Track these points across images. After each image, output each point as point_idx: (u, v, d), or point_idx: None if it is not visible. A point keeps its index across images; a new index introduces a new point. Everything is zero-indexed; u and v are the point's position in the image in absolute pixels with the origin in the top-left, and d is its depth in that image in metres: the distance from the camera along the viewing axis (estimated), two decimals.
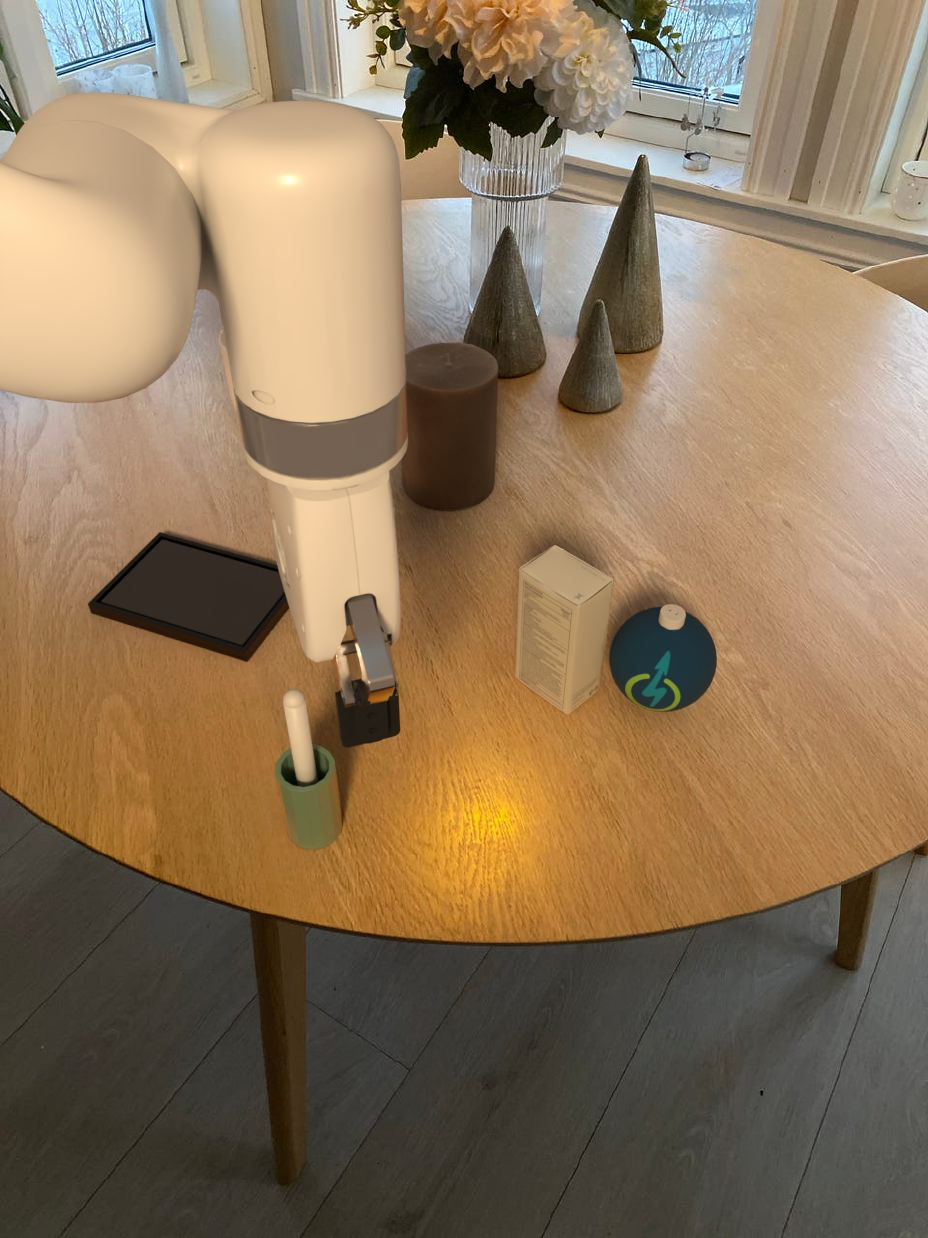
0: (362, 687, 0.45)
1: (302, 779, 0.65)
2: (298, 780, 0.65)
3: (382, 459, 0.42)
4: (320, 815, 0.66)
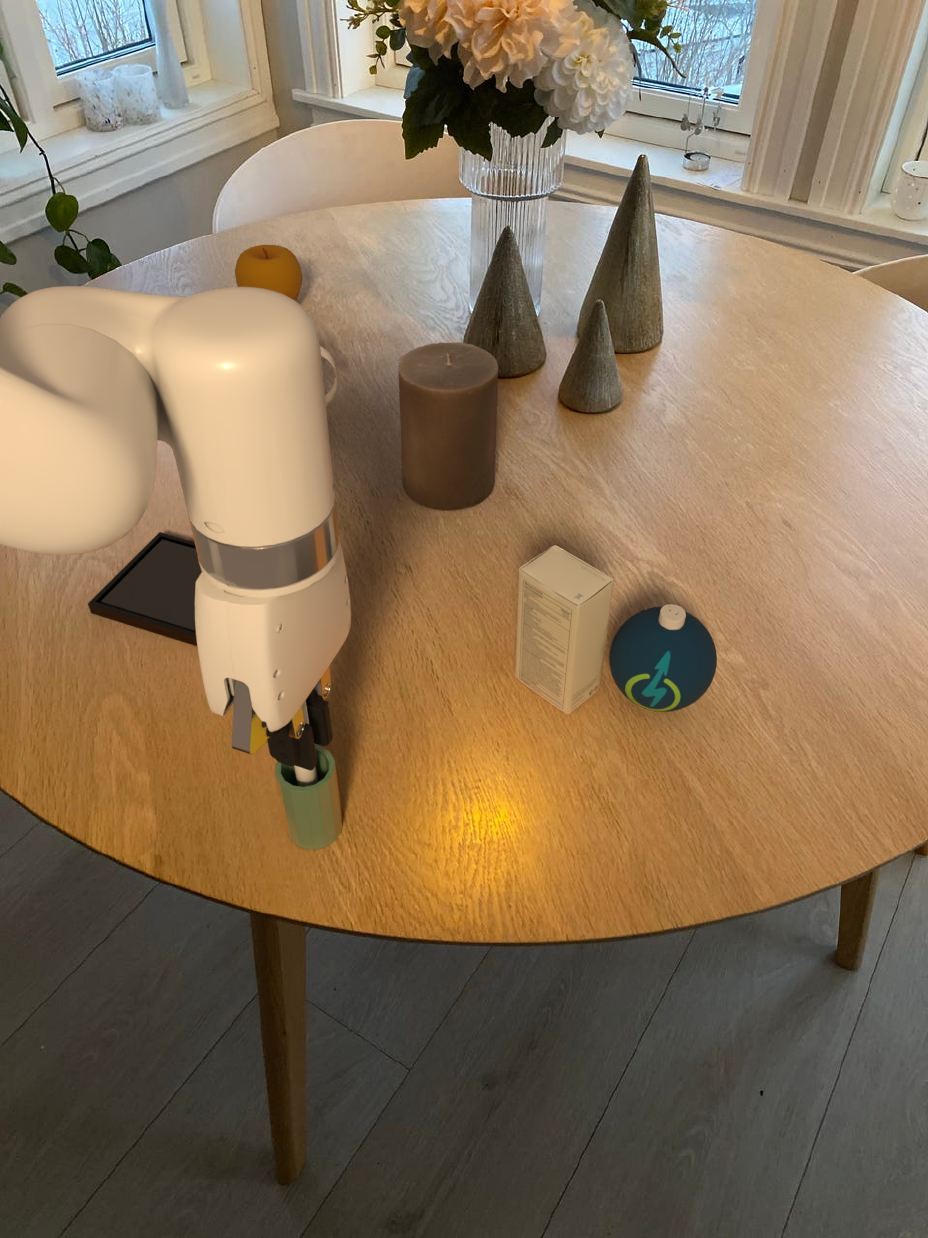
0: None
1: (302, 779, 0.65)
2: (298, 780, 0.65)
3: (267, 585, 0.48)
4: (320, 815, 0.66)
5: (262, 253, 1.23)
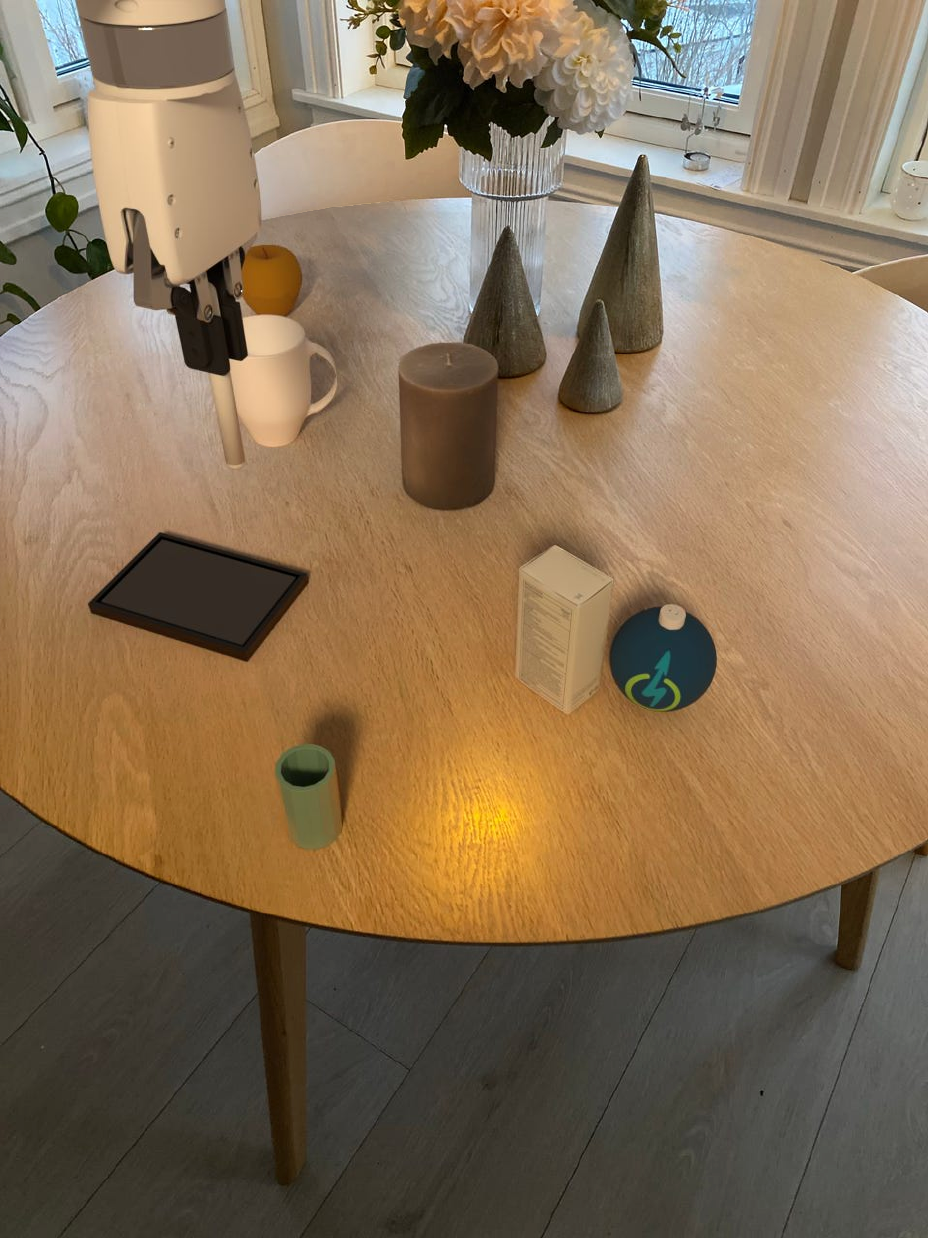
0: None
1: (219, 399, 0.65)
2: (216, 403, 0.65)
3: (155, 83, 0.49)
4: (320, 815, 0.66)
5: (262, 253, 1.23)
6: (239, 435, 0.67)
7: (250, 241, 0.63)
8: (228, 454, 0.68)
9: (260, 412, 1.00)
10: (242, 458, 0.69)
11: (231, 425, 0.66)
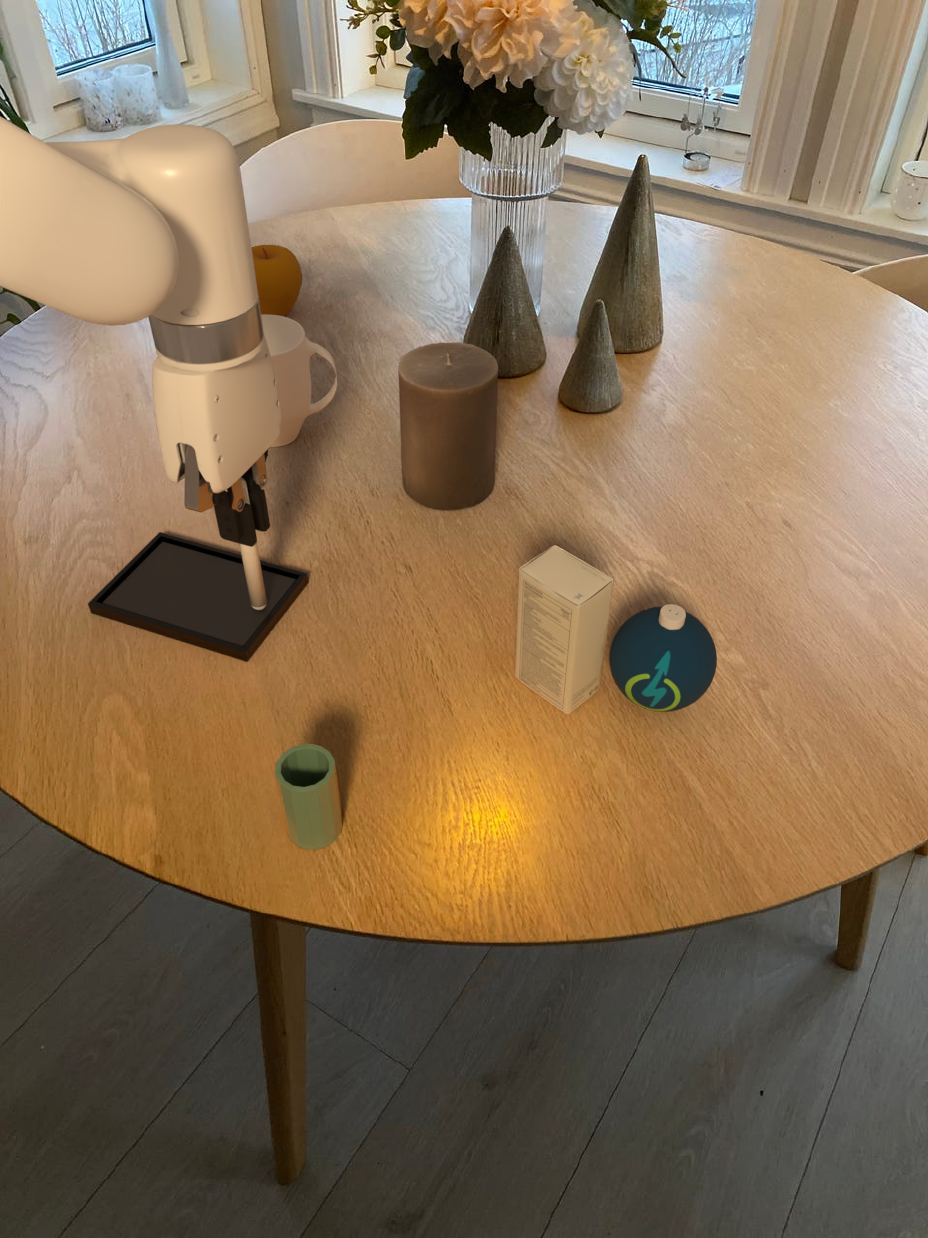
0: None
1: (247, 561, 0.80)
2: (244, 562, 0.81)
3: (205, 360, 0.64)
4: (320, 815, 0.66)
5: (262, 253, 1.23)
6: (262, 585, 0.83)
7: None
8: (253, 599, 0.83)
9: None
10: (264, 601, 0.84)
11: (256, 578, 0.82)
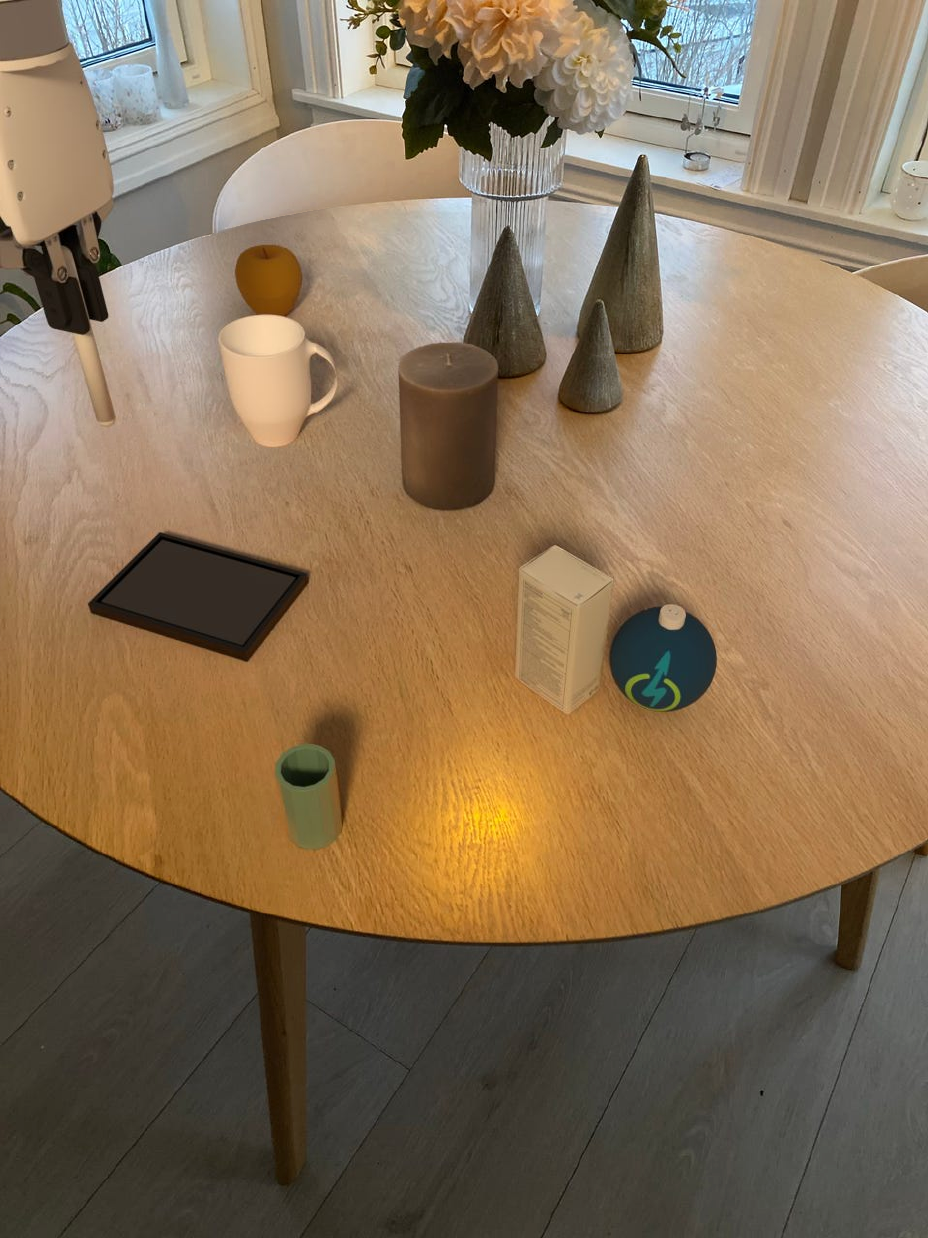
0: None
1: (84, 358, 0.70)
2: (81, 361, 0.70)
3: None
4: (320, 815, 0.66)
5: (262, 253, 1.23)
6: (107, 393, 0.72)
7: (107, 209, 0.67)
8: (97, 411, 0.73)
9: (260, 412, 1.00)
10: (112, 415, 0.73)
11: (98, 383, 0.71)
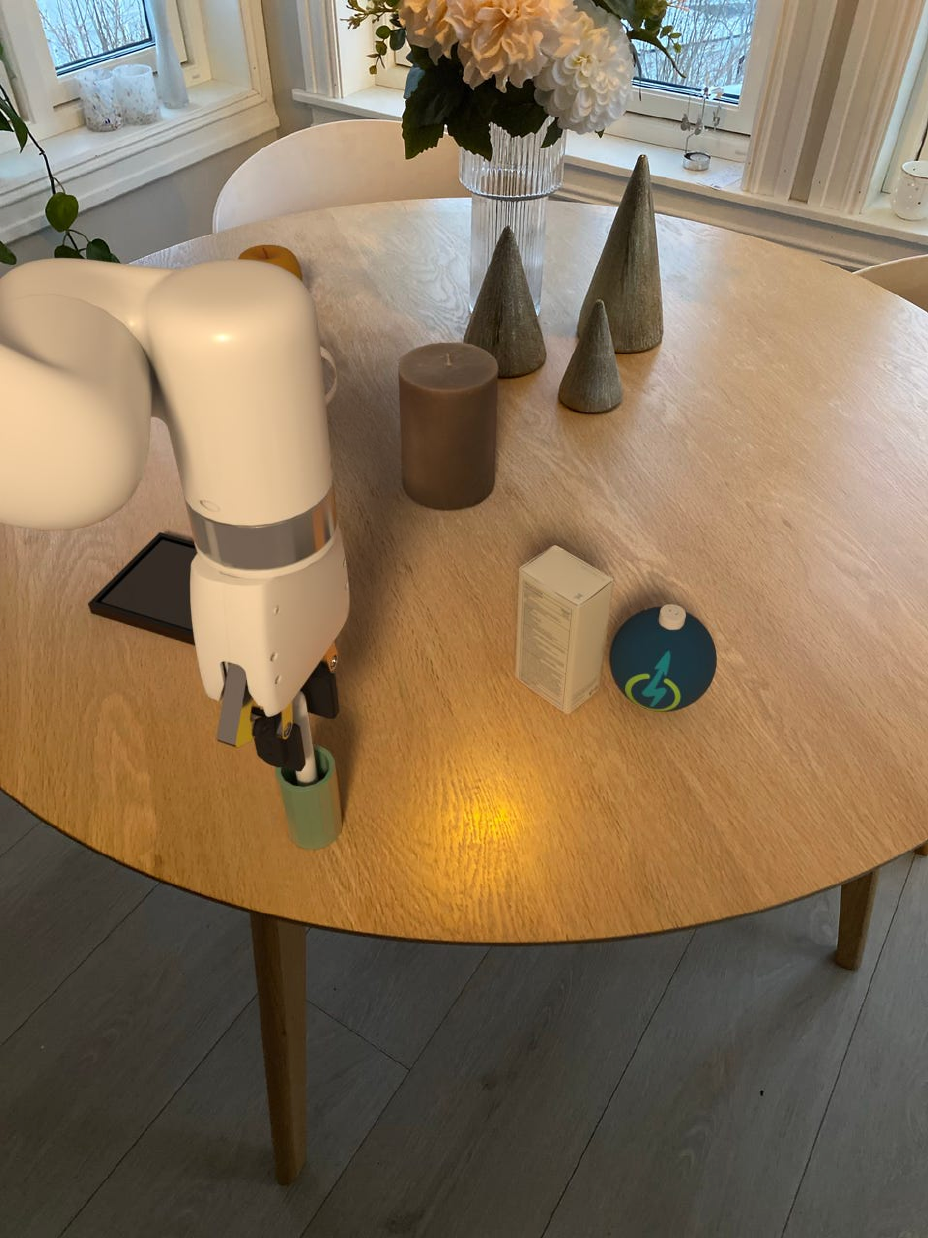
0: None
1: (303, 779, 0.65)
2: (299, 780, 0.65)
3: (264, 566, 0.48)
4: (320, 815, 0.66)
5: (262, 253, 1.23)
6: None
7: None
8: None
9: None
10: None
11: None
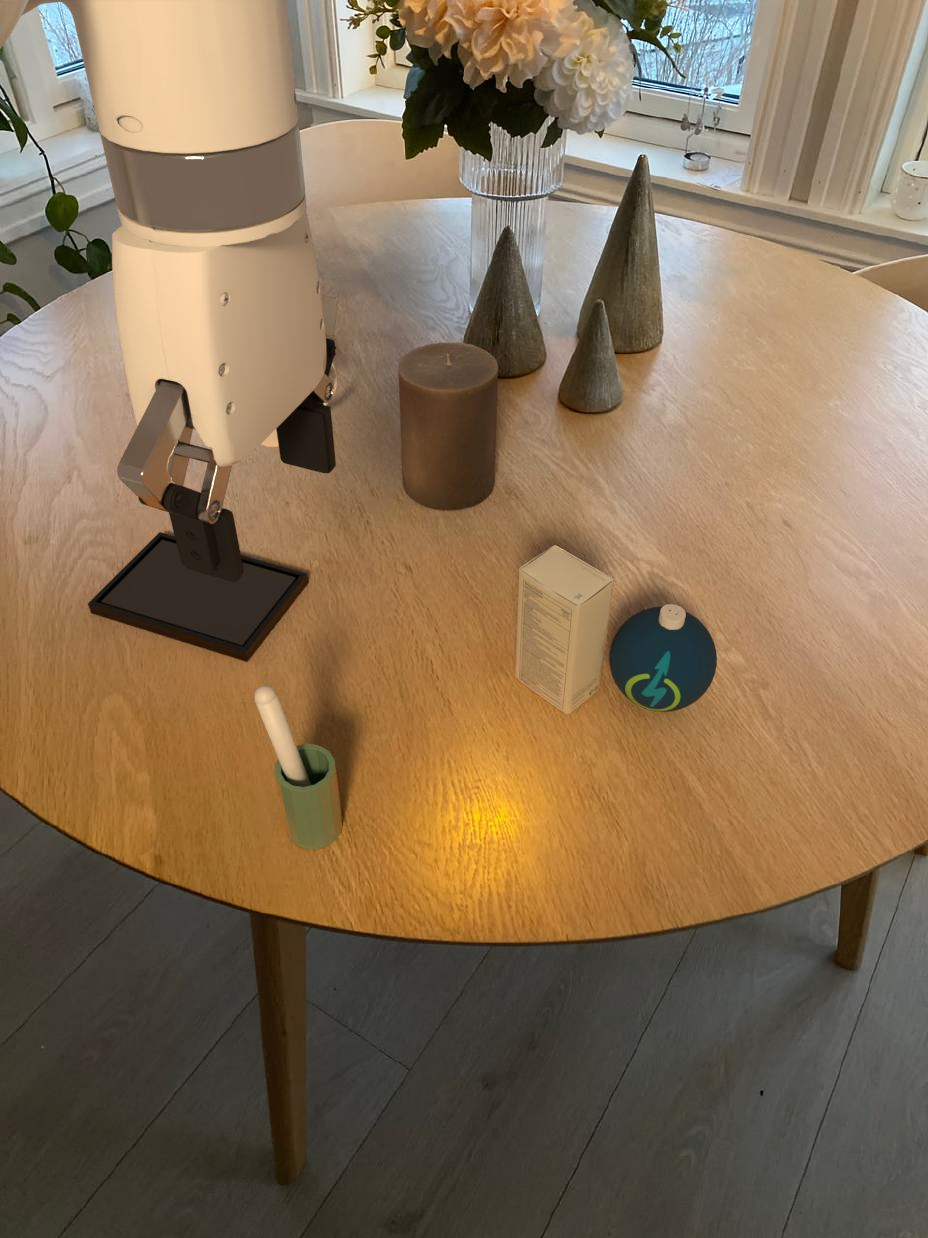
0: None
1: (290, 778, 0.65)
2: (287, 779, 0.65)
3: (206, 225, 0.36)
4: (320, 815, 0.66)
5: None
6: None
7: (333, 316, 0.50)
8: None
9: None
10: None
11: None
